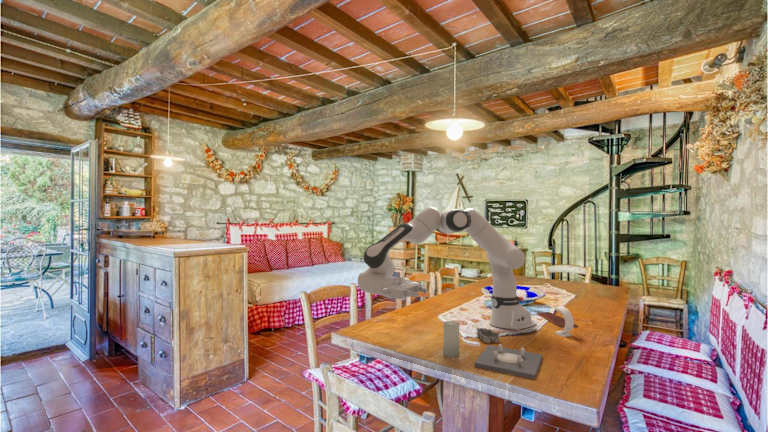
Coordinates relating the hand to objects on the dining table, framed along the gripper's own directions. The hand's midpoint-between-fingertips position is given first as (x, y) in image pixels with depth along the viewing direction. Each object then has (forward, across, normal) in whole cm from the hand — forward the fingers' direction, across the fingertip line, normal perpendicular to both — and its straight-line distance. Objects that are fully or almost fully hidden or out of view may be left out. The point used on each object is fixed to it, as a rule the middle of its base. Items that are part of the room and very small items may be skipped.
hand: (422, 292), depth 146 cm
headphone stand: (+51, +46, +18) cm, 71 cm away
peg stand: (+35, +3, +20) cm, 40 cm away
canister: (+14, 0, +22) cm, 26 cm away
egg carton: (+22, +25, +21) cm, 39 cm away
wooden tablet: (+46, +70, +18) cm, 86 cm away
